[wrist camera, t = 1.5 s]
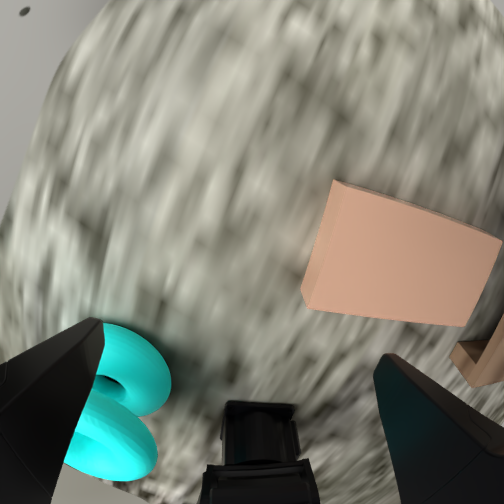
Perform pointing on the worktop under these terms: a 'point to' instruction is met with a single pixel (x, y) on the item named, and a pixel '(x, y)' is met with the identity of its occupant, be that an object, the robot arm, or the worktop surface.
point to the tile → (396, 260)
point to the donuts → (121, 409)
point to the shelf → (481, 359)
